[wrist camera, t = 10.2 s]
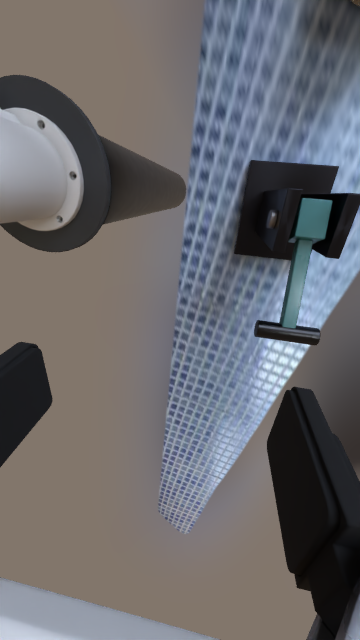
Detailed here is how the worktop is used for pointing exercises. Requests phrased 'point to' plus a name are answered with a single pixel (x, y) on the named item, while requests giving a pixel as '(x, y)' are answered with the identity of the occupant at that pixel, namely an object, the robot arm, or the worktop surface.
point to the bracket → (290, 209)
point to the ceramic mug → (356, 2)
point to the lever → (299, 273)
